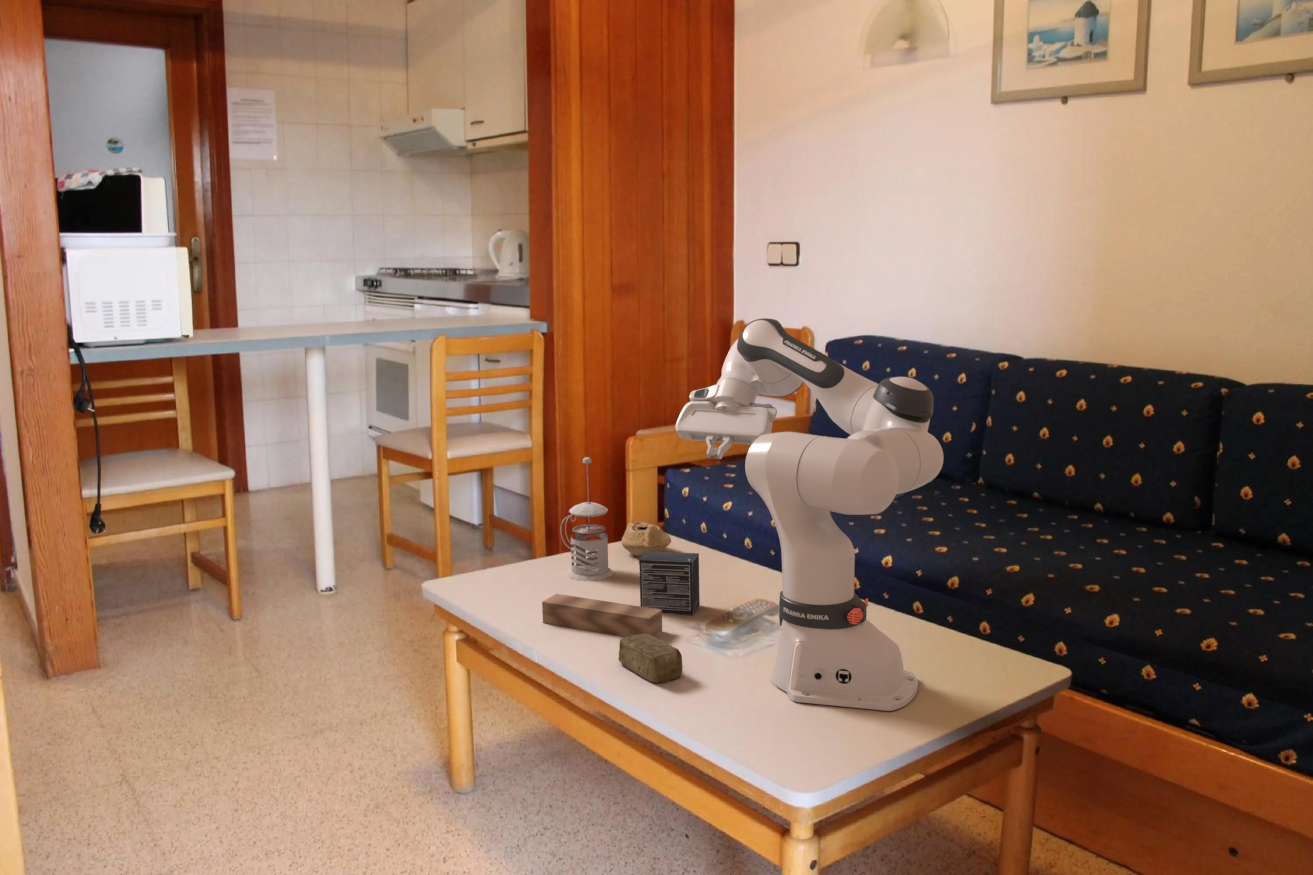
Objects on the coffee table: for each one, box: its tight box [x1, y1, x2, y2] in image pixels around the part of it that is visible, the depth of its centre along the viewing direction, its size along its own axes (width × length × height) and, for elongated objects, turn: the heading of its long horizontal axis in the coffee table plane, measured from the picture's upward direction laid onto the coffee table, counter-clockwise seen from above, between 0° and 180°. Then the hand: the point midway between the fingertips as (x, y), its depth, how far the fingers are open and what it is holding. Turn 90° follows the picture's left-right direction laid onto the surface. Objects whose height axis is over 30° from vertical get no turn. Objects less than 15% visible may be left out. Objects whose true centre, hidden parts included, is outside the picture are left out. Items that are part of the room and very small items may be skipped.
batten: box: [541, 593, 663, 638], centre depth 194 cm, size 22×5×4 cm, turn 63°
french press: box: [559, 456, 614, 582], centre depth 225 cm, size 10×12×25 cm
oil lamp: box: [621, 521, 672, 558], centre depth 240 cm, size 11×15×8 cm
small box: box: [638, 551, 701, 616], centre depth 203 cm, size 11×6×10 cm, turn 77°
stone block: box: [618, 633, 683, 684], centre depth 174 cm, size 6×12×5 cm, turn 35°
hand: (713, 457), depth 218 cm, fingers closed
